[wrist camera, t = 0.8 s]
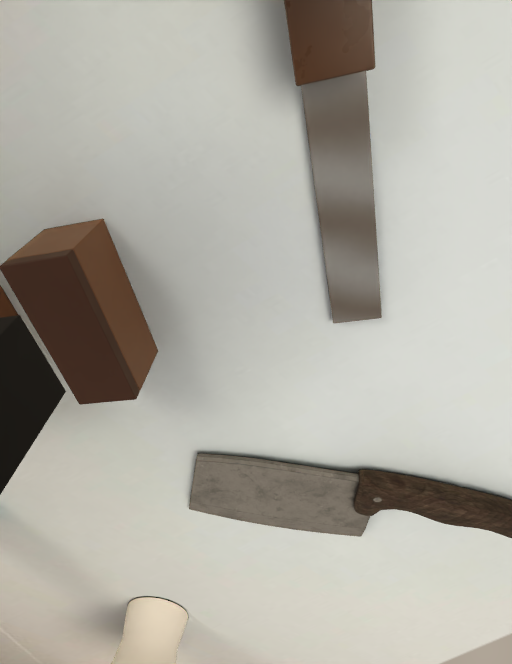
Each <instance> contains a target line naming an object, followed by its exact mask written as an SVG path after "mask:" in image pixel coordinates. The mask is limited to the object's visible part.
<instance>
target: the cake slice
mask: <svg viewBox="0 0 512 664" xmlns="http://www.w3.org/2000/svg"><path fill="white" fill-rule="evenodd" d="M0 269H1V271H2V273H3V274H4V276H5V278H6V280H7V281H8V283H9V285H10V286H11V288H12V290H13V292H14V293H15V295H16V297H17V298H18V300H19V302H20V304H21V305H22V307H23V309H24V310H25V312H26V314H27V315H28V317H29V319H30V321H31V322H32V324H33V326H34V327H35V329H36V331H37V333H38V334H39V336H40V338H41V339H42V341H43V343H44V345H45V346H46V348H47V350H48V351H49V353H50V355H51V357H52V358H53V360H54V362H55V363H56V365H57V367H58V368H59V370H60V372H61V374H62V375H63V377H64V379H65V380H66V382H67V384H68V386H69V387H70V389H71V391H72V392H73V394H74V396H75V398H76V399H77V401H78V403H79V404H89V403H100V402H112V401H123V400H134V399H136V398H137V396H138V394H139V392H140V390H141V388H142V385H143V383H144V381H145V379H146V377H147V374H148V372H149V370H150V368H151V365H152V363H153V361H154V359H155V357H156V354H157V352H158V350H157V347H156V345H155V342H154V340H153V338H152V335H151V333H150V330H149V328H148V325H147V323H146V321H145V318H144V316H143V313H142V311H141V309H140V306H139V304H138V301H137V299H136V296H135V294H134V292H133V289H132V287H131V284H130V282H129V280H128V277H127V275H126V272H125V270H124V267H123V265H122V263H121V260H120V258H119V255H118V253H117V251H116V248H115V246H114V243H113V241H112V238H111V236H110V234H109V231H108V229H107V226H106V224H105V222H104V219H99V220H93V221H88V222H82V223H77V224H71V225H66V226H60V227H54V228H49V229H44V230H43V231H42V232H41V233H39V234H38V235H37V236H36V237H34V238H33V239H32V240H31V241H30V242H28V243H27V244H26V245H25V246H23V247H22V248H21V249H20V250H19V251H17V252H16V253H15V254H14V255H12V256H11V257H10V258H9V259H8V260H7V261H5V262H4V263H3V264H2V265H0Z"/></svg>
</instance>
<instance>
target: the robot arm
mask: <svg viewBox="0 0 512 664" xmlns="http://www.w3.org/2000/svg"><path fill="white" fill-rule="evenodd" d="M65 392H66V391H65V389H64V387H63V386H62V384H61V383H60V381H59V379H58V378H57V376H56V374H55V373H54V371H53V369H52V368H51V366H50V364H49V363H48V361H47V360H46V358H45V356H44V355H43V353H42V351H41V350H40V348H39V346H38V345H37V343H36V341H35V340H34V338H33V337H32V335H31V333H30V332H29V330H28V328H27V327H26V325H25V323H24V322H23V320H22V319H21V317H20V315H16V316H9V317H1V318H0V494H1V493H2V491H3V489H4V488H5V486H6V485H7V483H8V482H9V480H10V478H11V477H12V475H13V474H14V472H15V471H16V469H17V467H18V466H19V464H20V463H21V461H22V460H23V458H24V456H25V455H26V453H27V452H28V450H29V449H30V447H31V445H32V444H33V442H34V441H35V439H36V438H37V436H38V434H39V433H40V431H41V430H42V428H43V427H44V425H45V423H46V422H47V420H48V419H49V417H50V416H51V414H52V412H53V411H54V409H55V408H56V406H57V405H58V403H59V401H60V400H61V398H62V397H63V395H64V394H65Z"/></svg>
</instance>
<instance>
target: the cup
mask: <svg viewBox="0 0 512 664" xmlns="http://www.w3.org/2000/svg"><path fill="white" fill-rule="evenodd" d="M187 620H188V614H187V612H186V611H185V610H184V609H183V608H182V607H181V606H179V605H177V604H175V603H173V602H170V601H167V600H164V599H159V598H152V597H143V598H137V599H134V600H132V601H131V602H130V603H129V604H128V607H127V612H126V617H125V624H124V630H123V637H122V640H121V643H120V645H119V647H118V650H117V652H116V654H115V657H114V659H113V661H112V663H111V664H176V657H177V649H178V646H179V643H180V640H181V638H182V635H183V632H184V629H185V626H186V623H187Z"/></svg>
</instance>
